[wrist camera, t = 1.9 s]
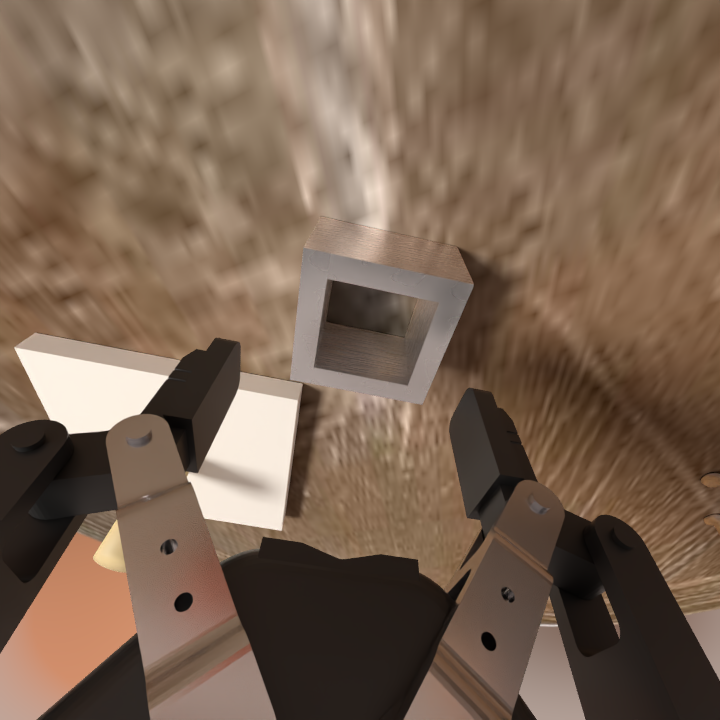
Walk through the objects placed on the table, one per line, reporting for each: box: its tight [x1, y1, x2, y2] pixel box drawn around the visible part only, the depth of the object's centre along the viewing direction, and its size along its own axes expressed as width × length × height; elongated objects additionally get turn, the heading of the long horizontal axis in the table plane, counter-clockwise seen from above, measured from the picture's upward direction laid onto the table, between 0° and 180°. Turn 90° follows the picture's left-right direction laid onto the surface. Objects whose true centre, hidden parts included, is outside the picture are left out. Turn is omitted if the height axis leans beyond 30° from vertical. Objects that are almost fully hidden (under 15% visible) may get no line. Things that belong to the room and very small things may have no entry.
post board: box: [14, 333, 303, 572], centre depth 23 cm, size 16×16×8 cm
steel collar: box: [290, 216, 474, 405], centre depth 16 cm, size 6×6×4 cm
